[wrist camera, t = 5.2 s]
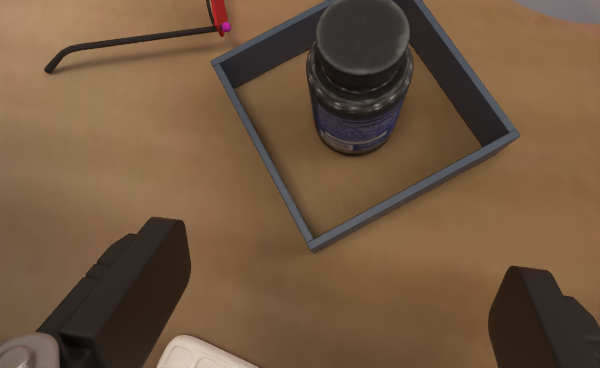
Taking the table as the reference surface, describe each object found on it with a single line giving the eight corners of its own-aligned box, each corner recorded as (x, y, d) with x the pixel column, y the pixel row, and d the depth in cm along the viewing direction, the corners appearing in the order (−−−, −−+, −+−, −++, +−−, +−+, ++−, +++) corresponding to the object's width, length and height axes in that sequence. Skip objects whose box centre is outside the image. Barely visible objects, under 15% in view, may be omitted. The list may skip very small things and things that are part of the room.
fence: (225, 87, 32) (209, 60, 28) (388, 1, 32) (395, -37, 28) (314, 253, 28) (310, 250, 24) (496, 154, 28) (521, 135, 25)
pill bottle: (410, 132, 29) (452, 50, 19) (339, 172, 29) (340, 112, 19) (367, 68, 31) (383, -41, 20) (299, 106, 31) (279, 15, 20)
